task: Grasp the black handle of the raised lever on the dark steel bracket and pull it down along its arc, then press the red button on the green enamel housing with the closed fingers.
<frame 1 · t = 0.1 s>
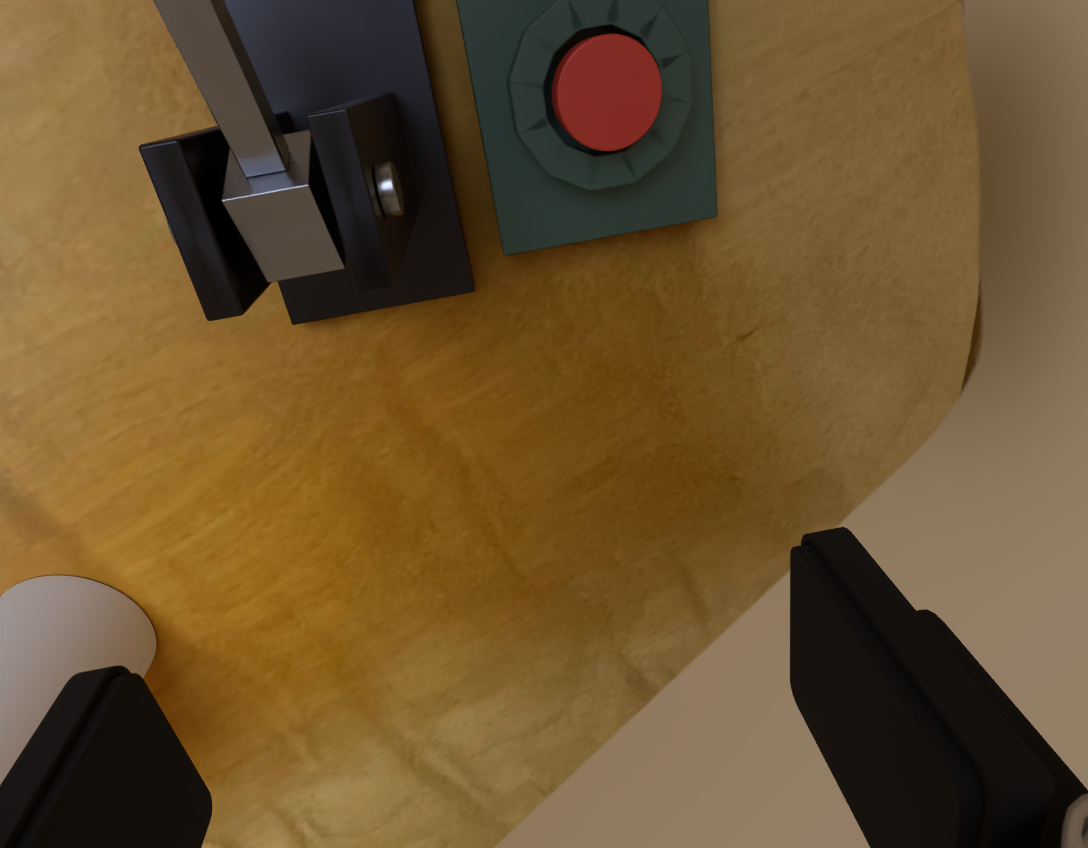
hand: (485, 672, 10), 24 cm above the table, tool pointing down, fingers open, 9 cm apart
lever: (205, 33, 15), point 13 cm above the table, hinge at 28.0°
cup: (77, 632, 38), on the table
button: (605, 93, 25), point 4 cm above the table, slide at 0.1 cm
bracket: (348, 159, 29), on the table
button box: (586, 89, 29), on the table
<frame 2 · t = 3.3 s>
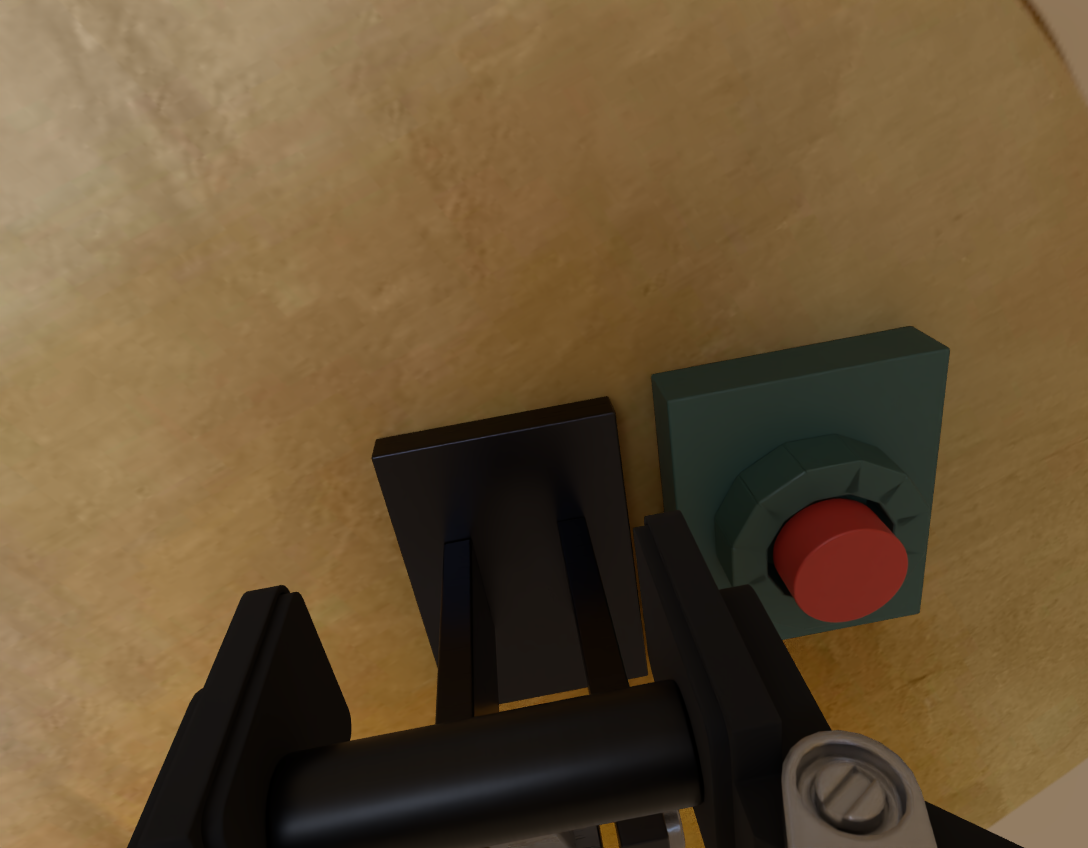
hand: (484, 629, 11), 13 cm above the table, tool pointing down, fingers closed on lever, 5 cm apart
lever: (534, 821, 13), point 13 cm above the table, hinge at 28.0°, touching gripper
button: (838, 560, 22), point 4 cm above the table, slide at 0.1 cm
bracket: (522, 556, 27), on the table
button box: (781, 485, 26), on the table
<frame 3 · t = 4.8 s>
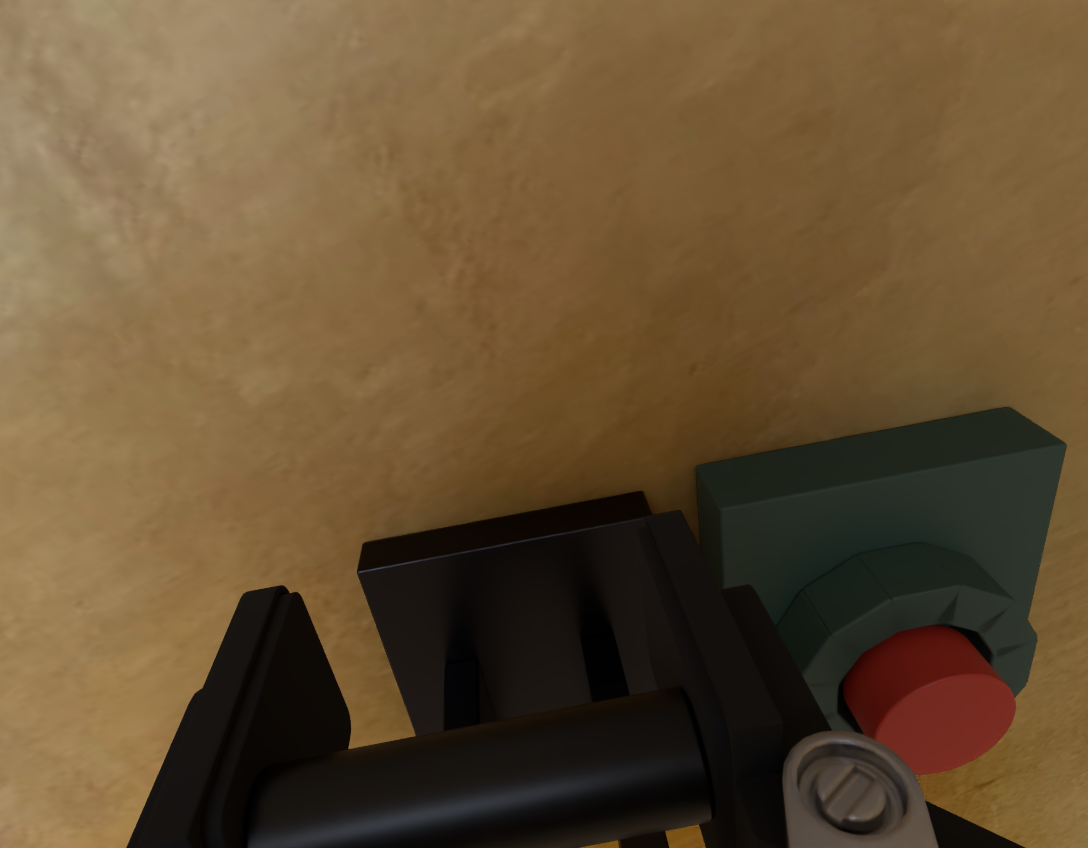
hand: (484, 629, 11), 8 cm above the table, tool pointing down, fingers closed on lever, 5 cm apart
button: (925, 699, 18), point 4 cm above the table, slide at 0.1 cm
bracket: (537, 667, 23), on the table
button box: (844, 585, 22), on the table
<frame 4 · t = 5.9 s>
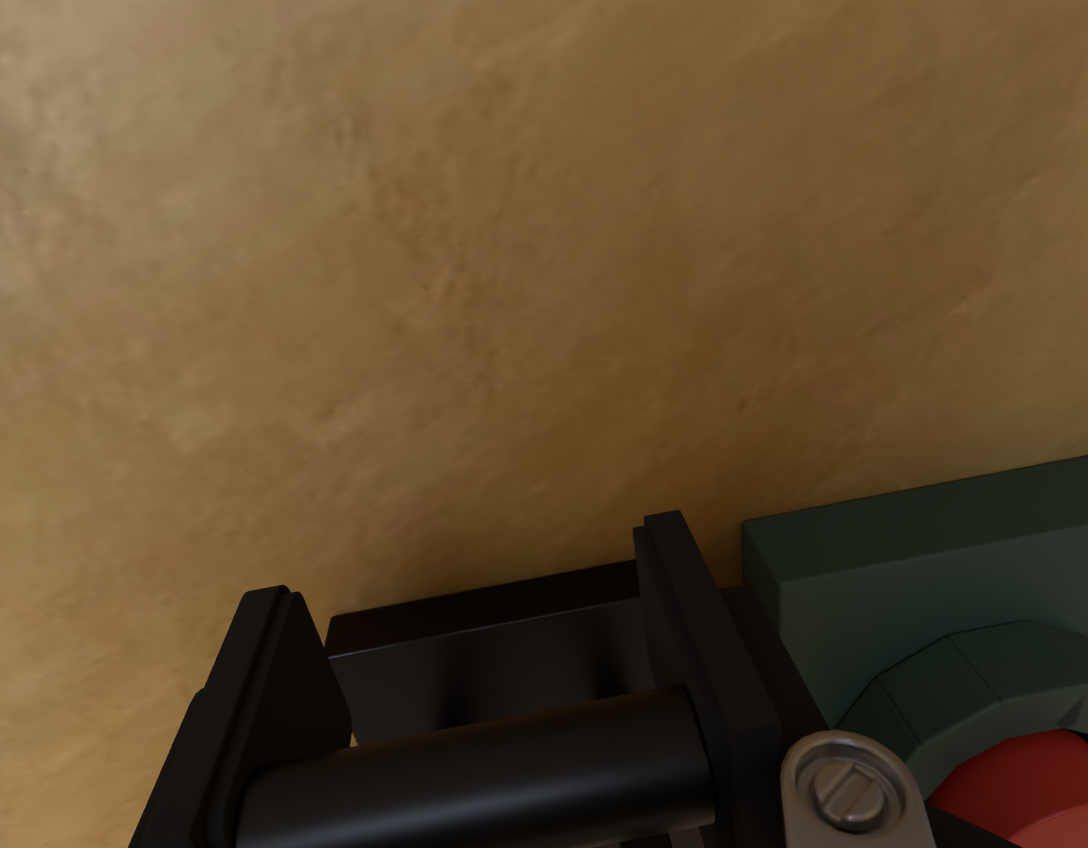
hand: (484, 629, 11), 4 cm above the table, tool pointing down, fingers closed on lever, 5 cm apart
button: (1036, 821, 15), point 4 cm above the table, slide at 0.1 cm
bracket: (545, 754, 19), on the table
button box: (914, 657, 19), on the table
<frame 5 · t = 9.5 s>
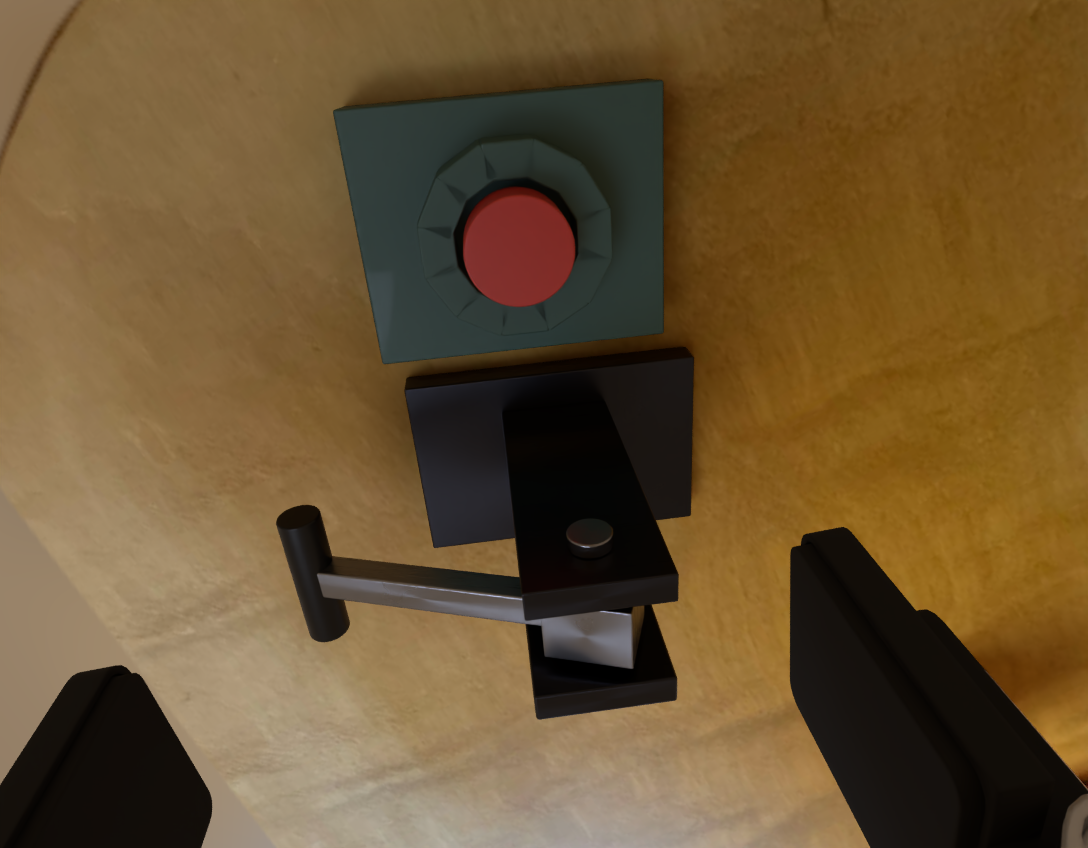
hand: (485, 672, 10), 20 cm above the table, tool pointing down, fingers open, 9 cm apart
lever: (456, 592, 24), point 9 cm above the table, hinge at -20.8°
button: (517, 246, 23), point 4 cm above the table, slide at 0.1 cm
bracket: (554, 443, 32), on the table
button box: (509, 220, 27), on the table
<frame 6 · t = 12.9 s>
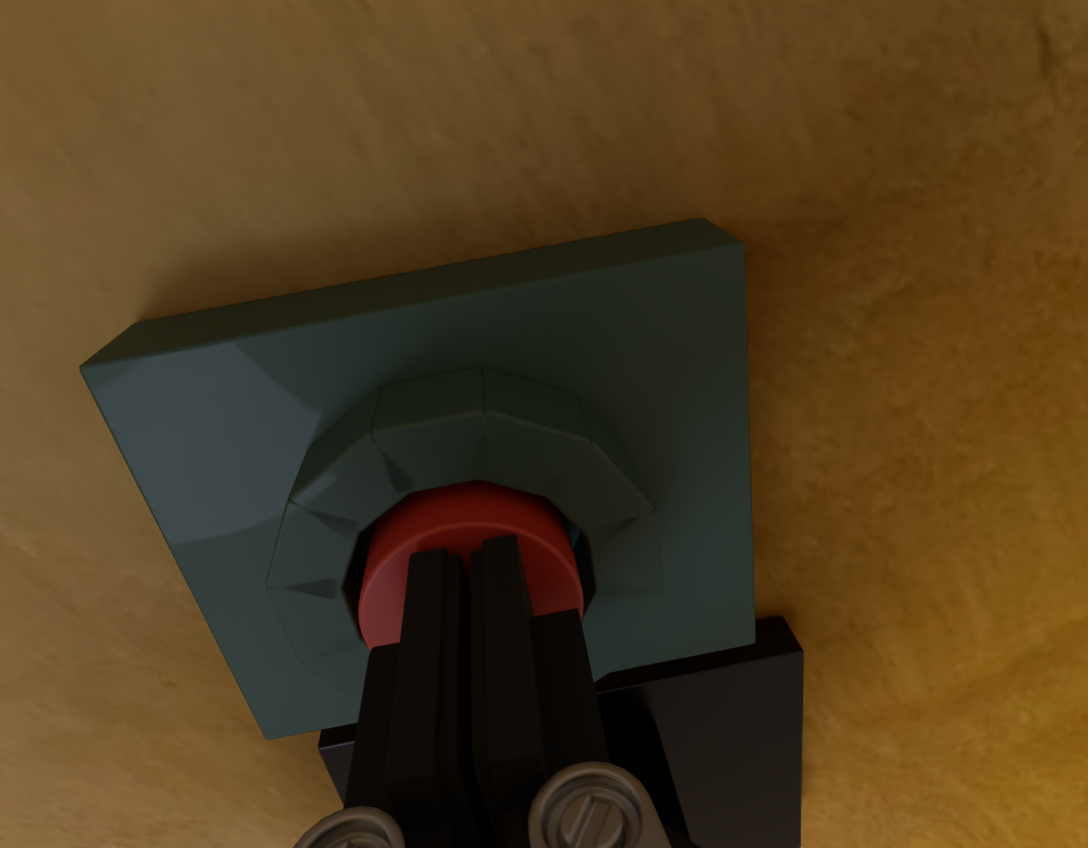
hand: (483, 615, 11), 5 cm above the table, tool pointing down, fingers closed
button: (472, 581, 12), point 4 cm above the table, slide at -0.6 cm, touching gripper
bracket: (576, 761, 20), on the table
button box: (469, 469, 15), on the table
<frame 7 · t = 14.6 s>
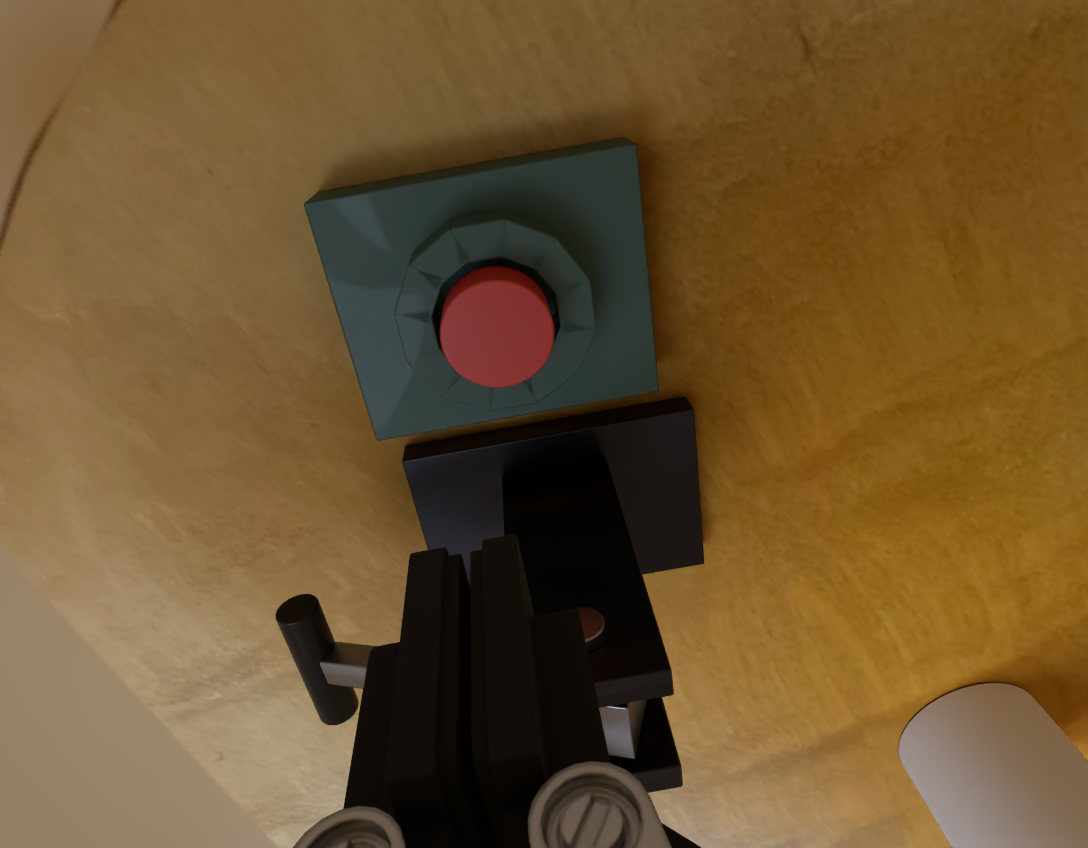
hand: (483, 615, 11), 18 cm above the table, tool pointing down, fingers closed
lever: (456, 678, 23), point 9 cm above the table, hinge at -20.8°
cup: (965, 730, 41), on the table
button: (497, 326, 23), point 4 cm above the table, slide at 0.1 cm
bracket: (559, 499, 32), on the table
button box: (494, 287, 27), on the table
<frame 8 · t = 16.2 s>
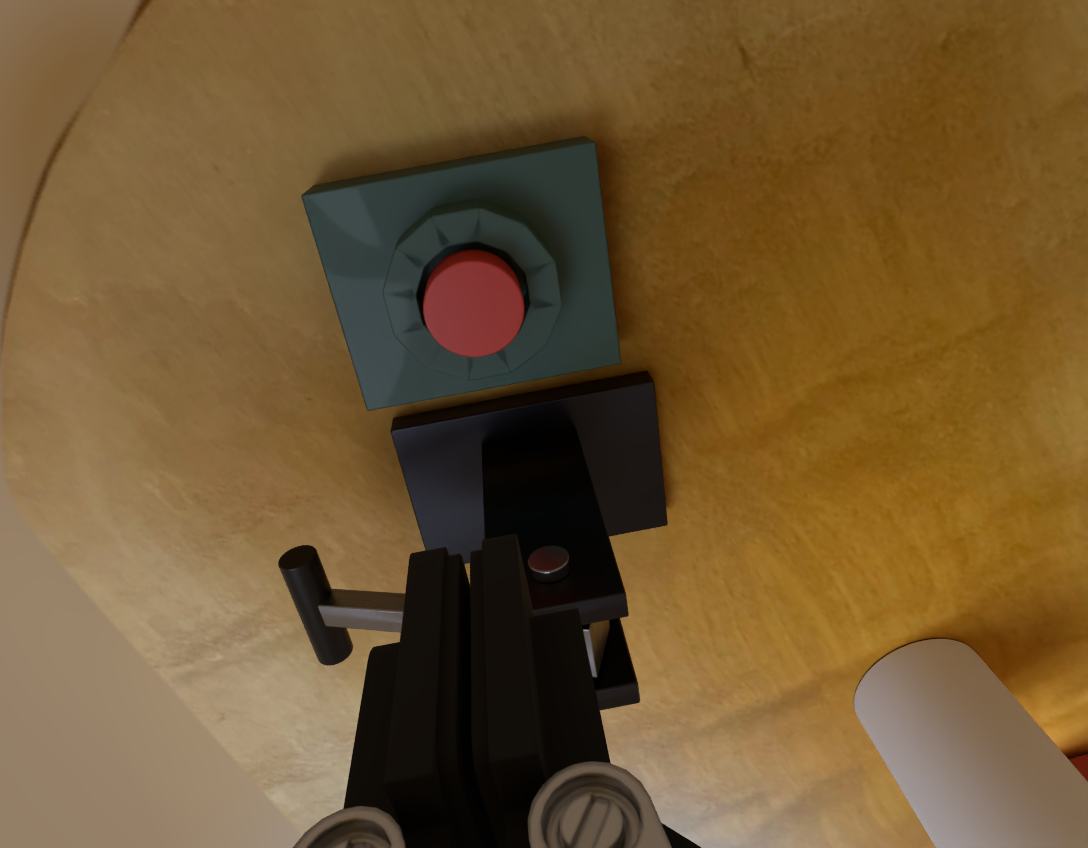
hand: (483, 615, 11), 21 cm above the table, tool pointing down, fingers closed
lever: (440, 615, 26), point 9 cm above the table, hinge at -20.8°
cup: (915, 685, 45), on the table
button: (473, 303, 26), point 4 cm above the table, slide at 0.1 cm
bracket: (534, 467, 35), on the table
button box: (472, 271, 30), on the table
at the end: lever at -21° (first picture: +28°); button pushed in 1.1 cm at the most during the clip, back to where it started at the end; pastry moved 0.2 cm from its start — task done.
